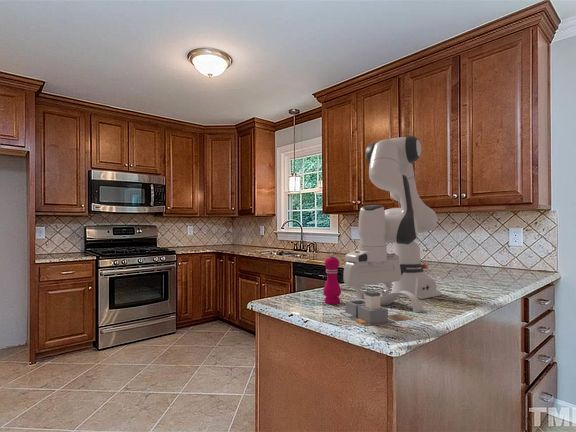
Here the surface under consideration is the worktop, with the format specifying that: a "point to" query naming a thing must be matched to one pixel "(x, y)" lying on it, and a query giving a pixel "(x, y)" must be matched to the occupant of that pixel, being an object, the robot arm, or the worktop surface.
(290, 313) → the worktop surface
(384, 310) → the port box
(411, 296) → the grey curved arch
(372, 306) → the plug
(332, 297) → the pepper mill
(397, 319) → the deck
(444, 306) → the worktop surface
